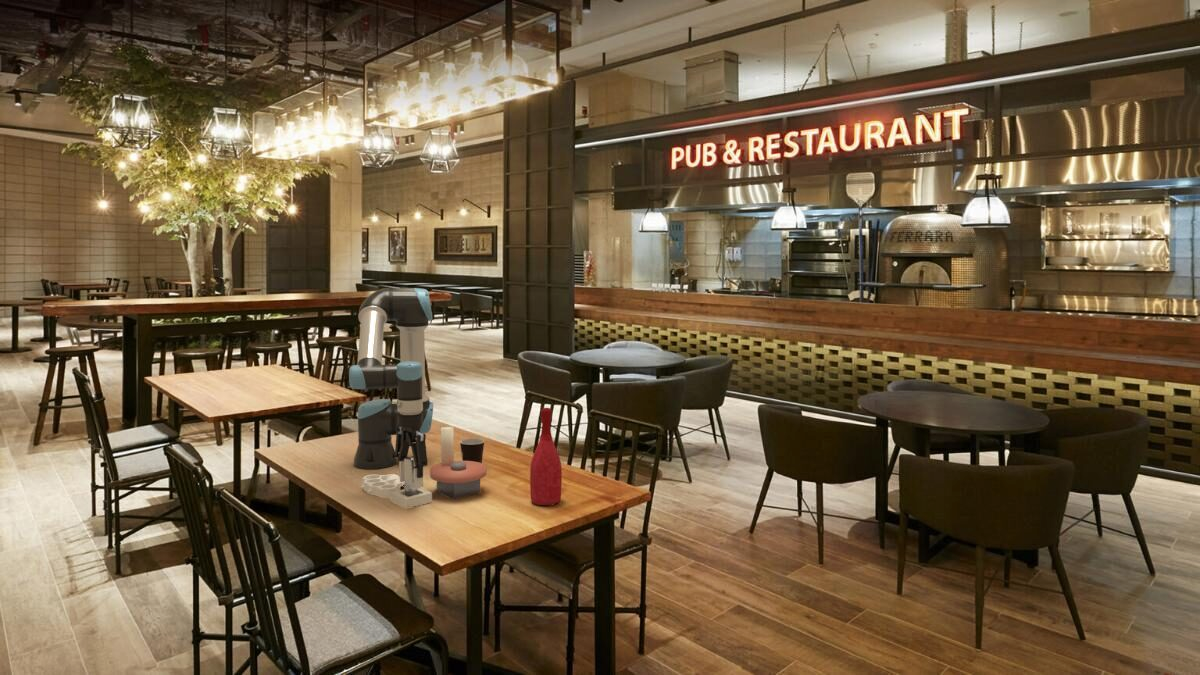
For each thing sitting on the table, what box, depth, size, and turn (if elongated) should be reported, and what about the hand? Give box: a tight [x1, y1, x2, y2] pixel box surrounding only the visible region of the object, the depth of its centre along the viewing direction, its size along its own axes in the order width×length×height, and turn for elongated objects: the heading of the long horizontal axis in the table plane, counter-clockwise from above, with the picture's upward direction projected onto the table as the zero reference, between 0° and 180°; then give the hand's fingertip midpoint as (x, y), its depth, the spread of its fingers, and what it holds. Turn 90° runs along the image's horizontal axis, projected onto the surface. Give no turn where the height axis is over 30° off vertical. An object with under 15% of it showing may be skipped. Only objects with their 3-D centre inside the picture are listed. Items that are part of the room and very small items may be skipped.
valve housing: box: [436, 479, 481, 500], centre depth 233 cm, size 10×10×6 cm
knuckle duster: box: [359, 473, 405, 499], centre depth 235 cm, size 3×18×15 cm
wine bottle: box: [529, 407, 563, 506], centre depth 224 cm, size 10×10×30 cm
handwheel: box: [429, 426, 488, 483], centre depth 232 cm, size 18×18×14 cm
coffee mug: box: [459, 438, 485, 464], centre depth 261 cm, size 12×9×10 cm
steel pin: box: [404, 456, 418, 497], centre depth 223 cm, size 4×4×14 cm
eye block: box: [390, 487, 433, 510], centre depth 223 cm, size 9×9×3 cm
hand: (411, 484), depth 223 cm, fingers open, 8 cm apart
